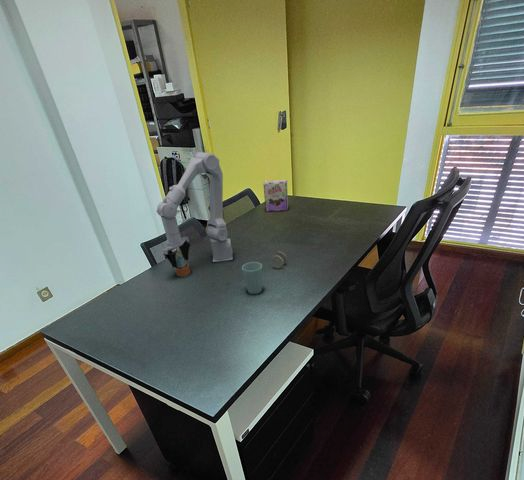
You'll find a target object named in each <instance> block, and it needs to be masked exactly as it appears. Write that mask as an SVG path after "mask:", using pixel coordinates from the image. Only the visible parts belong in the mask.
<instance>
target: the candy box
mask: <svg viewBox="0 0 524 480" xmlns="http://www.w3.org/2000/svg"><path fill="white" fill-rule="evenodd" d="M288 193H289V192H288V179H278V180H264V182H263V196H264V208H265V212H285V211H288V210H289V197H288V195H289V194H288Z"/></svg>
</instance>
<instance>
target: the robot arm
mask: <svg viewBox="0 0 524 480" xmlns="http://www.w3.org/2000/svg"><path fill="white" fill-rule="evenodd" d="M201 174H205V175H206V176H207V177H208V178H209V218H208V219H207V222H206V223H207V224H206V228H205V234H206V236H207V237H208V238H209V242H210V246H211V251H212V263H218V262H226V261H233V259H234V251H233V247H232V241H231V238H228V236H229V232H228V229H227V224H226V222H225V220H224V218H223V217H224V216H223V215H224V214H223V211H224V210H223V207H224V206H223V204H224V202H223V199H224V198H223V195H224V193H223V191H224V190H223V189H224V186H223V185H224V181H223V180H224V175H223V171H222V168H221V165H220V159H219V158H218V157H217V156H216V154H215V153H212V152H203V151H196V152H195V153H194V154H193V156H192V157H191V158H190V160H189V163H188V166H187V167H186V169H185V171H184V172H183V174H182V176H181V178H180V180H179V181H178V183H177V184H173V185H172V186H169V188H168V189H169V191H168V193H167V194H166V195H165V197H163V198H162V201H160V202H158V204H157V206H156V213H157V215H158V216H160V219H161V222H162V226H163V230H164V233H165V238H166V241H167V244H166V246H164V248H162V249H161V251H162V254H163V256H164V257H165V258H166V259H167V260H168V261H169V263H170V265H171V266H172V268H174V269H175V268H177V262H176V258H177V256H176V254H177V252H173V251H174V250H175V249H178V248H179V250H180V252H181V256H182V257H183V258H184V259H185V261H189V252H190V248H191V243H190V240H189V237H188V236H183V237H182V236H181V233H180V232H181V231H180V229H179V228H180V227H179V224H178V221H177V215H178V208H179V206H180V205H181V203H182V202H183V200H184V199H185V197H186V196H187V195H186V194H187V193H186V190H187V189H188V187H189V186H190V185H191V184H192V182H193V181H194V179H195V178H196V177H197V176H198V175H201Z"/></svg>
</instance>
